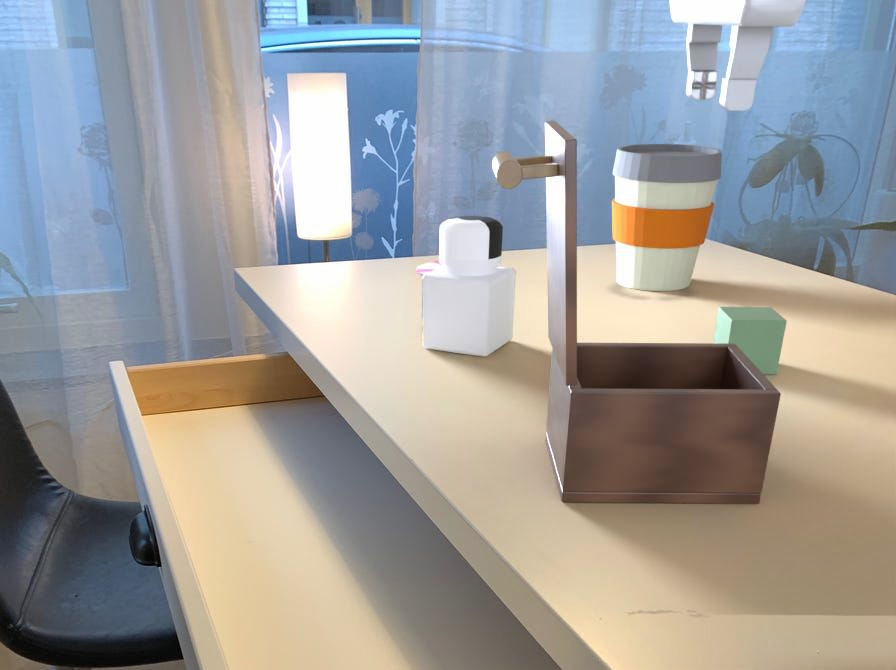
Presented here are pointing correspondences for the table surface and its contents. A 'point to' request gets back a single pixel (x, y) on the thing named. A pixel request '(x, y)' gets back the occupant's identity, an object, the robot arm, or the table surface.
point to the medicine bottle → (468, 290)
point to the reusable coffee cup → (661, 212)
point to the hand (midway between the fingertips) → (716, 104)
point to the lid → (554, 234)
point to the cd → (428, 267)
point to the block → (753, 334)
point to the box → (661, 424)
